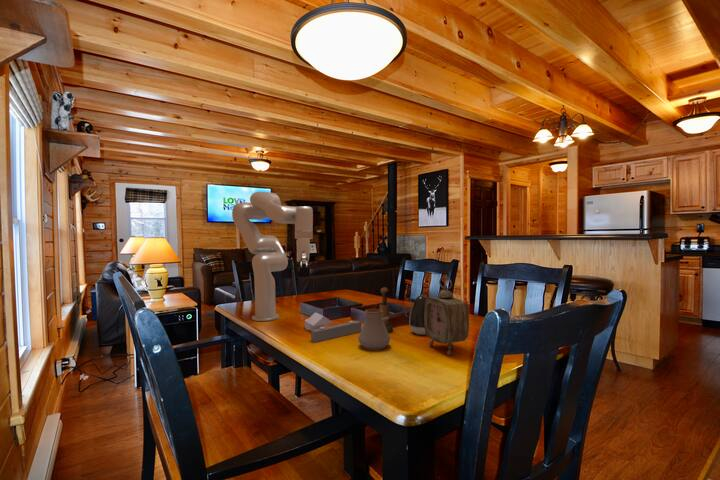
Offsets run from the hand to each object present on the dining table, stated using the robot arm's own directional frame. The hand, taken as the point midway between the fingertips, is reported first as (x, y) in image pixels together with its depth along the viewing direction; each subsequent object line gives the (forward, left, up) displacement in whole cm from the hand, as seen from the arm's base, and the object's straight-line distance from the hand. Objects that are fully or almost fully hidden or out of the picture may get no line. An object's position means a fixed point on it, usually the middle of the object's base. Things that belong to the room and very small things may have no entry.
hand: (303, 275), depth 150 cm
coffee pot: (+43, +7, -23) cm, 50 cm away
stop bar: (+19, +4, -23) cm, 30 cm away
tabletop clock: (+57, +23, -23) cm, 66 cm away
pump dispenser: (+38, +32, -23) cm, 55 cm away
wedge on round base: (+5, +4, -23) cm, 24 cm away
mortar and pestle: (+26, +23, -23) cm, 42 cm away
